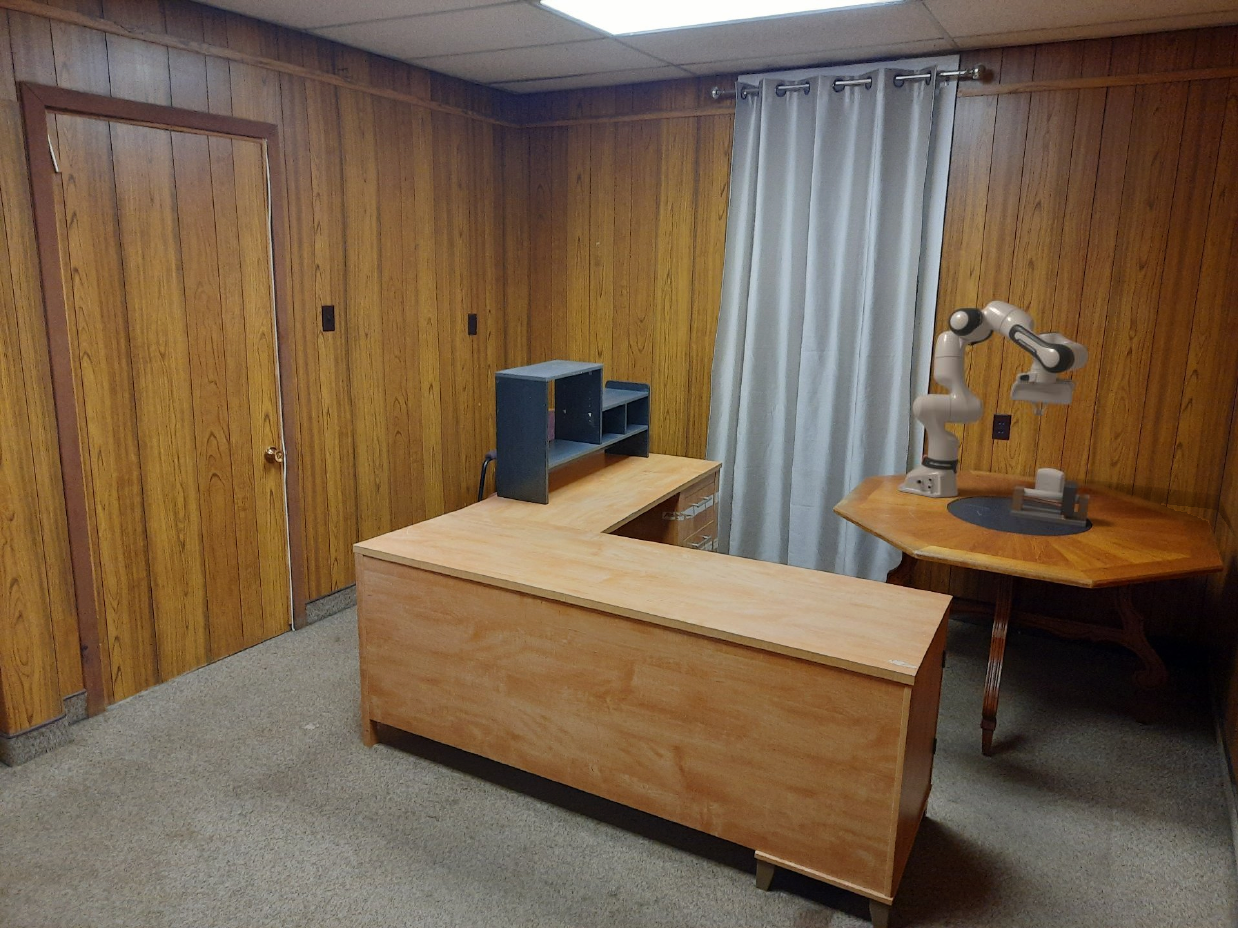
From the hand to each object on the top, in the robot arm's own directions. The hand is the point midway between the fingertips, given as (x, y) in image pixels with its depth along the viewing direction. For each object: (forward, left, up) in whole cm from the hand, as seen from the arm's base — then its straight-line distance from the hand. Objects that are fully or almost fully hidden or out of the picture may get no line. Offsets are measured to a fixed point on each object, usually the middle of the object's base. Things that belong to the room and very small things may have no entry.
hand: (1038, 414), depth 313 cm
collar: (+14, -10, -32) cm, 36 cm away
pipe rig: (+8, -10, -35) cm, 37 cm away
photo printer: (+6, +16, -35) cm, 39 cm away
